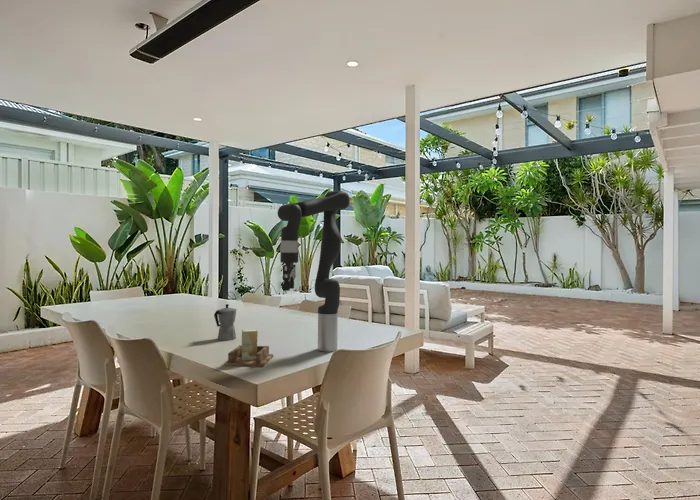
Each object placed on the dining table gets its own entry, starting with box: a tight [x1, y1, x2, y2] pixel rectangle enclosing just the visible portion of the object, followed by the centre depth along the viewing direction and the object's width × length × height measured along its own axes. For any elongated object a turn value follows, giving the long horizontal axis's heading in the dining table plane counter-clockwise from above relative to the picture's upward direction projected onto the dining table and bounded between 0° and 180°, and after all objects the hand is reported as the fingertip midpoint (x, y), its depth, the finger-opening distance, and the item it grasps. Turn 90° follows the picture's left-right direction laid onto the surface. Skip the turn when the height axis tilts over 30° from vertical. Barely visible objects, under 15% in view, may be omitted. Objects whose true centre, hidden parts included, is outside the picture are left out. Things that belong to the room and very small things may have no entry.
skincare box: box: [241, 328, 259, 361], centre depth 183 cm, size 6×4×12 cm
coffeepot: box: [213, 304, 237, 342], centre depth 225 cm, size 15×9×18 cm, turn 153°
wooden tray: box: [224, 344, 274, 368], centre depth 184 cm, size 16×16×5 cm
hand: (289, 289), depth 185 cm, fingers open, 8 cm apart
